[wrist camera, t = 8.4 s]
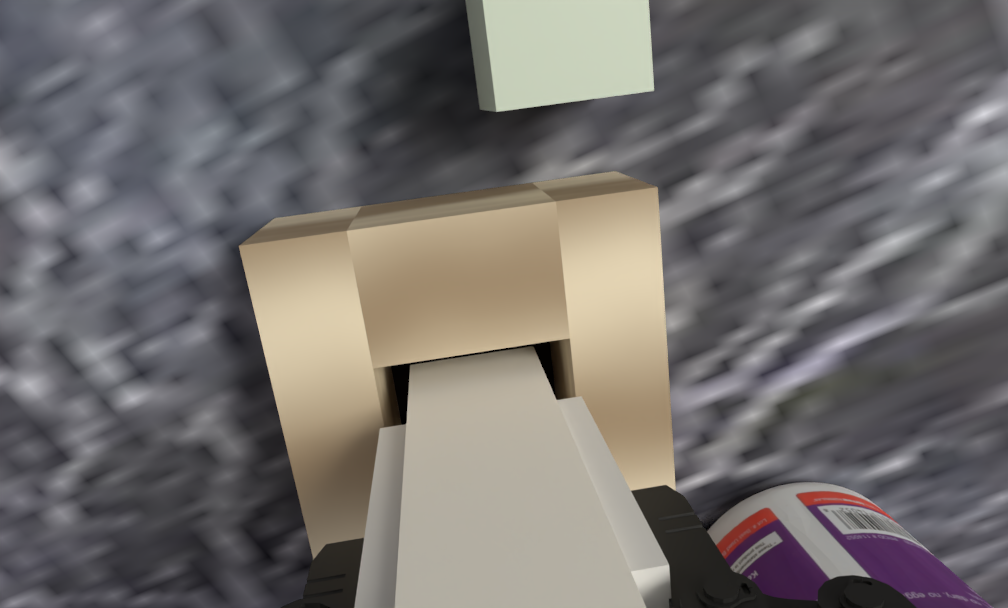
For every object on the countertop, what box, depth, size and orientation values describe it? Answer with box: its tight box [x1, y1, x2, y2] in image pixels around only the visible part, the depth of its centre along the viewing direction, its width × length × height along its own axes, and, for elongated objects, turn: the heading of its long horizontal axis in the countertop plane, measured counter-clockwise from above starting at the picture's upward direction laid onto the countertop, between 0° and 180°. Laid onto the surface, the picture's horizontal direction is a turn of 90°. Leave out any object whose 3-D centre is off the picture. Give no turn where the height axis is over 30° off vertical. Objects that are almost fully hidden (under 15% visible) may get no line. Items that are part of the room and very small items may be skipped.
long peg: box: [395, 346, 646, 608], centre depth 15 cm, size 4×4×12 cm
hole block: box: [239, 171, 676, 560], centre depth 20 cm, size 12×10×4 cm
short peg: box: [465, 0, 654, 112], centre depth 17 cm, size 4×4×5 cm
